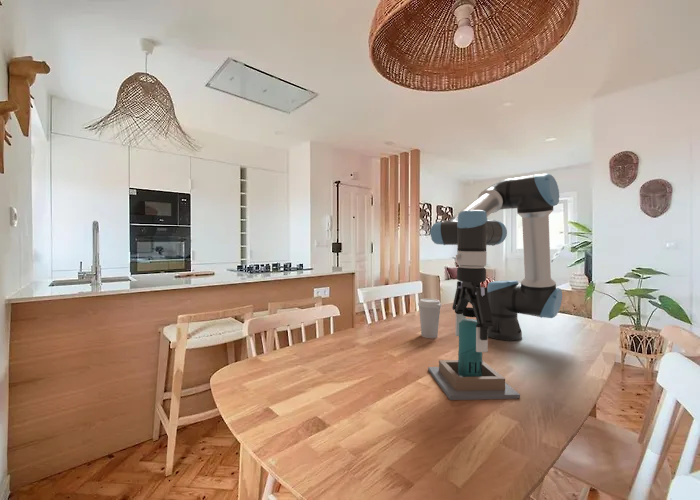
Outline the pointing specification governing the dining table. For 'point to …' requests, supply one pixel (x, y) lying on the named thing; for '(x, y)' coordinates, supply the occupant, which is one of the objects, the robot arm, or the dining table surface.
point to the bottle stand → (471, 383)
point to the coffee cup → (429, 317)
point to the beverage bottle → (469, 347)
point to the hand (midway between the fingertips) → (470, 343)
